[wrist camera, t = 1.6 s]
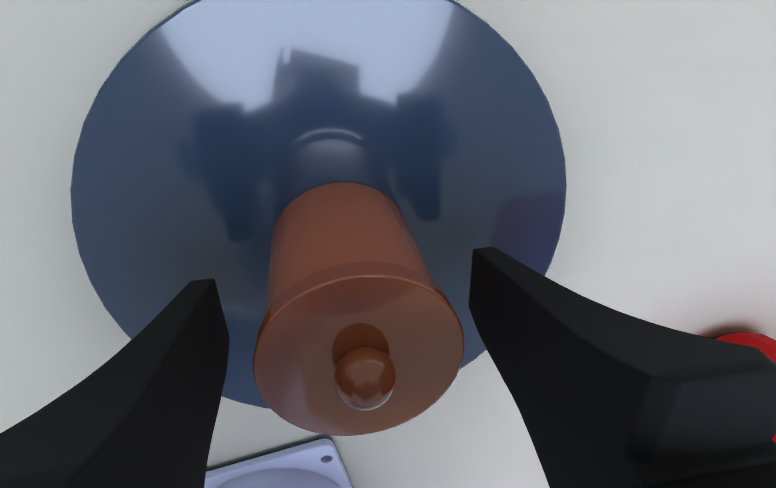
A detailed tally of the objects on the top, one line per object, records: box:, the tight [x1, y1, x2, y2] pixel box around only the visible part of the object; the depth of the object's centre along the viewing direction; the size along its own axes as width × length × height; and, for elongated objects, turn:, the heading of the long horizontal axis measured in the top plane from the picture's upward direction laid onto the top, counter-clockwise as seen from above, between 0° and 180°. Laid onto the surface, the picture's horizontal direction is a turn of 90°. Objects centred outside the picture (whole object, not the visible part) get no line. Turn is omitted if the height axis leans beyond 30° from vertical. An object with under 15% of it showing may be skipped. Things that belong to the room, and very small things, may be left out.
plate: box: [71, 0, 566, 409], centre depth 16 cm, size 16×16×1 cm
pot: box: [253, 182, 464, 436], centre depth 12 cm, size 5×5×7 cm
